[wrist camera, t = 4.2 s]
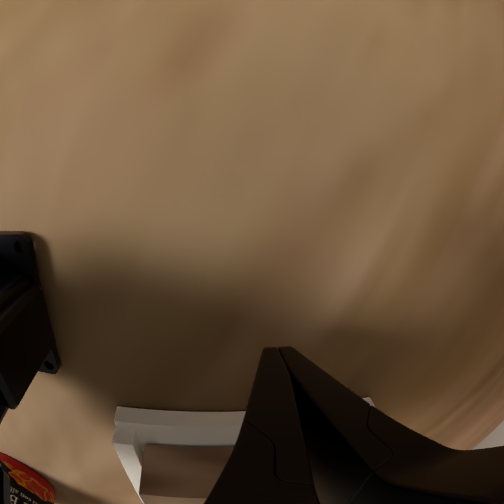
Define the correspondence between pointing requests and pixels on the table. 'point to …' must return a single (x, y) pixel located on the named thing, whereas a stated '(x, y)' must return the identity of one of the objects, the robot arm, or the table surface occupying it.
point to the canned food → (26, 483)
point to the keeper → (180, 473)
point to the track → (171, 433)
